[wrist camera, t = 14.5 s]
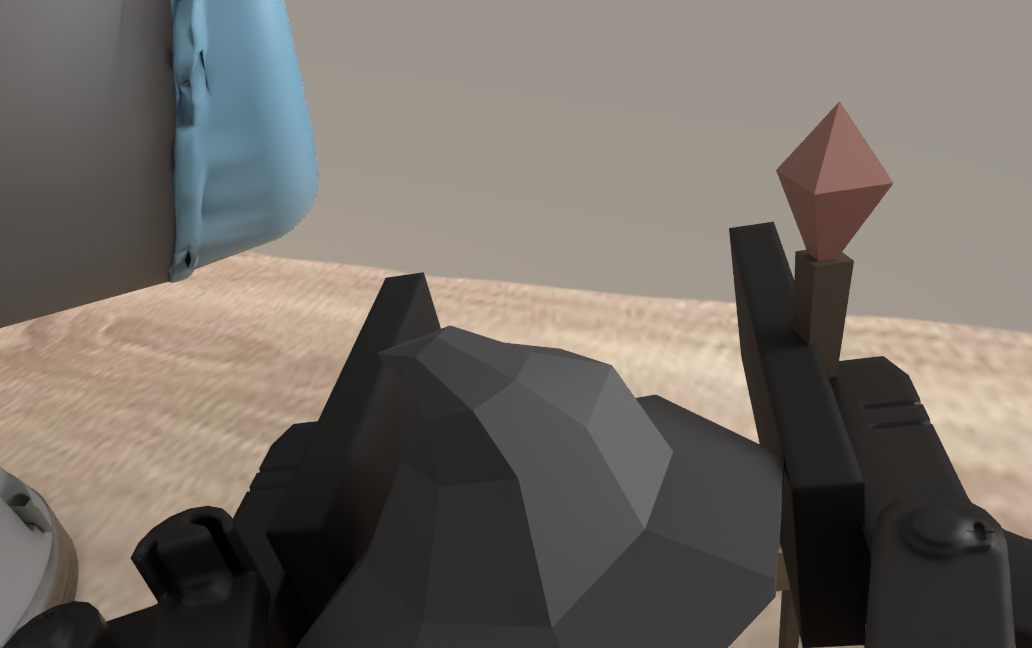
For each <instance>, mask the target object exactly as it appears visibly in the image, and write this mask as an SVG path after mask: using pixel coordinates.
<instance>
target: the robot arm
mask: <svg viewBox="0 0 1032 648" xmlns="http://www.w3.org/2000/svg"><path fill="white" fill-rule="evenodd" d="M317 187H318V166H317V158H316V151H315V145H314V139H313V135H312V129H311V124H310V119H309V114H308V109H307V104H306V99H305V94H304V89H303V84H302V79H301V76H300V71H299V66H298V61H297V57H296V52H295V48H294V43H293V38H292V34H291V29H290V25H289V20H288V15H287V11H286V7H285V3H284V0H0V328H2V327H6V326H10V325H13V324H17V323H20V322H24V321H28V320H31V319H35V318H38V317H42V316H46V315H49V314H53V313H56V312H60V311H64V310H67V309H71V308H75V307H78V306H82V305H85V304H89V303H93V302H96V301H100V300H103V299H107V298H111V297H114V296H118V295H121V294H125V293H129V292H132V291H136V290H139V289H143V288H147V287H150V286H154V285H158V284H161V283H165V282H172V283H174V282H178V281H181V280H184V279H187V278H188V277H189V276H190V275H191V274H192V273H193V271H194V269H197V268H200V267H203V266H205V265H208V264H211V263H214V262H216V261H219V260H222V259H225V258H227V257H230V256H233V255H235V254H238V253H241V252H244V251H246V250H249V249H252V248H254V247H257V246H260V245H263V244H266V243H268V242H271V241H274V240H276V239H279V238H281V237H282V236H284V235H285V234H287V233H288V232H290V231H291V230H293V229H294V227H295V226H296V225H297V224H298V223H299V222H300V221H301V220H302V219H303V218H304V217H305V216H306V214H307V213H308V211H309V210H310V208H311V205H312V203H313V201H314V198H315V196H316V192H317ZM729 232H730V242H731V254H732V264H733V275H734V284H735V294H736V295H735V296H736V306H737V317H738V327H739V338H740V348H741V357H742V362H743V367H744V371H745V376H746V381H747V386H748V390H749V395H750V400H751V405H752V409H753V414H754V419H755V424H756V428H757V433H758V438H759V443H760V445H762V446H764V447H766V448H768V449H770V450H772V451H774V452H776V453H778V454H780V455H782V456H783V457H784V469H785V470H784V483H783V497H782V511H781V525H780V542H781V547H782V552H783V557H784V561H785V566H786V571H787V576H788V580H789V585H790V590H791V595H792V599H793V604H794V609H795V614H796V618H797V623H798V628H799V633H800V638H801V642H802V647H803V648H813V647H834V646H855V645H865V647H864V648H1032V540H1031V539H1027V538H1024V537H1021V536H1019V535H1016V534H1014V533H1011V532H1009V531H1006V530H1004V529H1003V528H1001V525H1000V524H999V523H998V522H997V521H996V520H995V519H994V518H993V517H992V516H991V515H990V514H989V513H988V512H987V511H986V510H984V509H982V508H981V507H979V506H977V505H975V504H973V503H972V502H971V501H970V499H969V498H968V496H967V494H966V492H965V490H964V488H963V486H962V484H961V482H960V480H959V478H958V476H957V474H956V472H955V470H954V468H953V466H952V464H951V462H950V459H949V457H948V455H947V453H946V451H945V449H944V447H943V445H942V443H941V441H940V439H939V437H938V435H937V433H936V431H935V429H934V427H933V424H931V423H930V418H929V416H928V414H927V412H926V410H925V408H924V406H923V404H921V402H920V398H919V396H918V394H917V392H916V390H915V387H914V385H913V383H912V381H911V379H910V377H909V375H908V374H906V373H905V372H904V371H902V370H901V369H900V368H898V367H897V366H896V365H894V364H893V363H892V362H890V361H889V360H888V359H886V358H885V357H884V356H880V357H871V358H862V359H853V360H844V361H839V364H838V370H837V376H835V377H831V378H828V376H827V373H826V370H825V367H824V364H823V362H822V359H821V356H820V353H819V350H818V347H817V344H812V345H808V344H807V343H806V342H805V341H804V340H803V339H802V338H801V337H800V336H799V335H798V333H797V332H796V331H795V330H794V329H793V307H794V278H793V276H792V273H791V270H790V267H789V264H788V261H787V258H786V256H785V253H784V250H783V247H782V244H781V241H780V239H779V235H778V233H777V230H776V227H775V225H774V222H768V223H762V224H755V225H749V226H741V227H735V228H729ZM439 329H441V327H440V324H439V321H438V318H437V314H436V311H435V308H434V305H433V301H432V298H431V295H430V291H429V288H428V285H427V282H426V278H425V275H424V273H416V274H409V275H402V276H395V277H388V278H385V280H384V283H383V285H382V287H381V289H380V291H379V293H378V295H377V297H376V299H375V302H374V304H373V306H372V308H371V310H370V312H369V314H368V316H367V319H366V321H365V323H364V325H363V327H362V329H361V331H360V333H359V335H358V338H357V340H356V342H355V344H354V346H353V348H352V350H351V352H350V354H349V357H348V359H347V361H346V363H345V365H344V367H343V369H342V371H341V373H340V376H339V378H338V380H337V382H336V384H335V386H334V388H333V390H332V392H331V395H330V397H329V399H328V401H327V403H326V405H325V407H324V409H323V411H322V414H321V416H320V418H319V420H318V421H316V422H307V423H298V424H293V425H292V426H291V427H290V428H289V429H288V430H287V431H286V432H285V433H284V434H283V435H282V436H281V437H280V438H279V439H278V440H277V441H275V442H274V443H273V444H272V445H271V447H270V449H269V451H268V453H267V455H266V457H265V459H264V460H263V462H262V464H261V466H260V468H259V469H260V473H257V474H256V476H255V478H254V479H253V481H252V483H251V485H250V492H247V493H246V495H245V497H244V498H243V500H242V502H241V504H240V506H239V508H238V510H237V512H236V514H235V516H234V517H233V519H232V517H231V516H230V515H229V514H228V513H227V512H226V511H224V510H223V509H222V508H217V507H211V506H204V507H197V508H191V509H188V510H185V511H183V512H180V513H178V514H176V515H173V516H171V517H169V518H168V519H166V520H165V521H163V522H162V523H160V524H159V525H157V526H156V527H154V528H153V529H152V530H151V531H150V532H149V533H148V534H147V535H146V536H145V537H144V538H143V539H142V540H141V541H140V542H139V543H138V545H137V547H136V549H135V550H134V552H133V554H132V556H131V560H132V561H133V563H134V564H135V566H136V568H137V569H138V571H139V572H140V574H141V575H142V577H143V579H144V580H145V582H146V583H147V585H148V587H149V588H150V590H151V591H152V593H153V595H154V596H155V598H156V599H157V601H158V604H156V605H154V606H151V607H148V608H145V609H142V610H139V611H136V612H133V613H130V614H127V615H125V616H122V617H119V618H116V619H113V620H110V621H107V622H106V621H105V620H104V618H103V617H102V615H101V614H100V612H99V611H98V609H96V608H95V607H94V606H92V605H91V604H90V603H88V602H76V601H74V598H75V594H76V588H77V581H78V560H77V554H76V550H75V548H74V545H73V542H72V540H71V539H70V537H69V535H68V534H67V532H66V531H65V529H64V528H63V526H62V525H61V523H60V522H59V520H58V519H57V517H56V516H55V514H54V513H53V512H52V510H51V509H50V507H49V506H48V504H47V503H46V501H45V500H44V498H43V497H42V496H41V495H40V494H39V493H38V492H37V491H35V490H34V489H32V488H31V487H29V486H28V485H26V484H25V483H24V482H22V481H21V480H19V479H18V478H16V477H15V476H13V475H11V474H9V473H8V472H6V471H5V470H4V469H2V468H1V467H0V648H296V647H297V646H298V644H299V643H300V641H301V640H302V639H303V637H304V636H305V634H306V633H307V631H308V630H309V629H310V627H311V626H312V624H313V623H314V622H315V620H316V619H317V617H318V616H319V614H320V613H321V612H322V610H323V609H324V607H325V606H326V604H327V603H328V602H329V600H330V599H331V597H332V596H333V594H334V593H335V592H336V590H337V589H338V587H339V586H340V584H341V583H342V582H343V581H344V579H345V578H346V576H347V575H348V573H349V572H350V570H351V569H352V567H353V566H354V565H355V563H356V562H357V560H358V559H359V557H360V556H361V555H362V553H363V552H364V550H365V549H366V547H367V546H368V545H369V543H370V542H371V540H372V539H373V536H374V533H375V531H376V528H377V525H378V522H379V520H380V517H381V514H382V511H383V509H384V506H385V503H386V501H387V498H388V495H389V492H390V490H391V487H392V484H393V481H394V479H395V476H396V473H397V471H398V468H399V465H400V462H401V450H402V422H403V405H402V401H401V397H400V393H399V390H398V386H397V383H396V381H395V380H394V378H393V377H392V375H391V374H390V372H389V371H388V369H387V368H386V366H385V365H384V363H383V362H382V360H381V359H380V357H379V356H378V354H377V353H379V352H381V351H384V350H387V349H389V348H392V347H394V346H397V345H400V344H402V343H405V342H408V341H410V340H413V339H416V338H418V337H421V336H424V335H426V334H429V333H431V332H434V331H437V330H439Z"/></svg>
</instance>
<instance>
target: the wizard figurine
mask: <svg viewBox="0 0 1032 648" xmlns="http://www.w3.org/2000/svg"><path fill="white" fill-rule="evenodd" d="M776 171H777V173H778V176H779V179H780V181H781V184H782V187H783V189H784V192H785V194H786V197H787V199H788V202H789V205H790V207H791V210H792V212H793V215H794V218H795V220H796V223H797V226H798V228H799V231H800V233H801V236H802V238H803V241H804V244H805V246H806V249H807V250H802V251H796V254H795V280H794V307H793V329H794V330H795V331H796V332H797V333H798V335H799V336H800V337H801V338H802V339H803V340H804V341H805V342H806V343H807V344H808V345H812V344H817V347H818V350H819V353H820V356H821V359H822V362H823V364H824V367H825V370H826V373H827V376H828V378H831V377H835V376H837V370H838V364H839V357H840V350H841V344H842V337H843V330H844V324H845V317H846V310H847V304H848V296H849V290H850V284H851V276H852V269H853V263H854V261H853V260H852V259H851V258H849V257H848V256H847V255H845V254H844V253H843V252H842V251H843V250H844V248H845V247H846V246H847V244H848V243H849V242H850V240H851V239H852V238H853V236H854V235H855V234H856V232H857V231H858V230H859V228H860V227H861V226H862V224H863V223H864V222H865V220H866V219H867V218H868V216H869V215H870V214H871V212H872V211H873V210H874V208H875V207H876V206H877V204H878V203H879V202H880V200H881V199H882V197H883V196H884V195H885V194H886V192H887V191H888V190H889V188H890V187H891V186H892V184H893V182H892V180H891V178H890V177H889V175H888V174H887V172H886V171H885V169H884V168H883V166H882V165H881V164H880V162H879V160H878V159H877V157H876V156H875V154H874V153H873V151H872V150H871V148H870V147H869V145H868V144H867V142H866V141H865V139H864V138H863V136H862V135H861V133H860V131H859V130H858V129H857V127H856V126H855V124H854V122H853V121H852V120H851V118H850V116H849V115H848V114H847V112H846V110H845V109H844V107H843V106H842V104H841V103H840V102H839V103H838V104H837V105H836V106H835V107H834V108H833V109H832V110H831V111H830V113H829V114H828V115H827V116H826V117H825V118H824V119H823V120H822V121H821V122H820V123H819V124H818V126H817V127H816V128H815V129H814V130H813V131H812V132H811V133H810V134H809V135H808V136H807V137H806V139H805V140H804V141H803V142H802V143H801V144H800V145H799V146H798V147H797V148H796V149H795V150H794V152H793V153H792V154H791V155H790V156H789V157H788V158H787V159H786V160H785V161H784V162H783V163H782V165H781V166H780V167H779V168H778V169H777V170H776ZM377 354H378V356H379V357H380V359H381V360H382V362H383V363H384V365H385V366H386V368H387V369H388V371H389V372H390V374H391V375H392V377H393V378H394V380H395V381H396V383H397V386H398V390H399V393H400V397H401V401H402V405H403V422H402V450H401V462H400V465H399V468H398V471H397V473H396V476H395V479H394V481H393V484H392V487H391V490H390V492H389V495H388V498H387V501H386V503H385V506H384V509H383V511H382V514H381V517H380V520H379V522H378V525H377V528H376V531H375V533H374V536H373V539H372V540H371V542H370V543H369V545H368V546H367V547H366V549H365V550H364V552H363V553H362V555H361V556H360V557H359V559H358V560H357V562H356V563H355V565H354V566H353V567H352V569H351V570H350V572H349V573H348V575H347V576H346V578H345V579H344V581H343V582H342V583H341V584H340V586H339V587H338V589H337V590H336V592H335V593H334V594H333V596H332V597H331V599H330V600H329V602H328V603H327V604H326V606H325V607H324V609H323V610H322V612H321V613H320V614H319V616H318V617H317V619H316V620H315V622H314V623H313V624H312V626H311V627H310V629H309V630H308V631H307V633H306V634H305V636H304V637H303V639H302V640H301V641H300V643H299V644H298V646H297V647H296V648H728V647H729V646H730V645H731V644H732V643H733V642H734V640H735V639H736V638H737V637H738V636H739V635H740V634H741V633H742V632H743V631H744V630H745V629H746V628H747V627H748V626H749V625H750V624H751V622H752V621H753V620H754V619H755V618H756V617H757V616H758V615H759V614H760V613H761V612H762V611H763V610H764V609H765V608H766V607H767V605H768V604H769V603H770V602H771V601H772V600H773V599H774V598H775V595H776V591H782V599H781V616H780V634H779V648H798V644H799V636H800V633H799V628H798V623H797V618H796V614H795V609H794V604H793V599H792V595H791V590H790V585H789V580H788V576H787V571H786V566H785V561H784V557H783V552H782V547H781V542H780V525H781V511H782V497H783V483H784V470H785V469H784V457H783V456H782V455H780V454H778V453H776V452H774V451H772V450H770V449H768V448H766V447H764V446H762V445H760V444H757V443H755V442H753V441H751V440H749V439H747V438H745V437H743V436H741V435H739V434H737V433H735V432H733V431H730V430H728V429H726V428H724V427H722V426H720V425H718V424H716V423H714V422H712V421H710V420H708V419H706V418H703V417H701V416H699V415H697V414H695V413H693V412H691V411H689V410H687V409H685V408H683V407H681V406H679V405H676V404H674V403H672V402H670V401H668V400H666V399H664V398H662V397H660V396H658V395H651V396H645V397H639V398H635V397H634V396H633V394H632V393H631V391H630V390H629V388H628V387H627V386H626V384H625V383H624V381H623V380H622V379H621V377H620V376H619V374H618V373H617V372H616V370H615V369H614V367H613V366H612V365H609V364H606V363H603V362H600V361H597V360H593V359H590V358H587V357H584V356H581V355H578V354H575V353H572V352H569V351H566V350H563V349H558V348H548V347H539V346H530V345H520V344H511V343H503V342H500V341H497V340H494V339H491V338H487V337H484V336H481V335H478V334H475V333H472V332H469V331H466V330H462V329H459V328H456V327H453V326H447V327H445V328H442V329H439V330H437V331H434V332H431V333H429V334H426V335H424V336H421V337H418V338H416V339H413V340H410V341H408V342H405V343H402V344H400V345H397V346H394V347H392V348H389V349H387V350H384V351H381V352H379V353H377Z"/></svg>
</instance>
